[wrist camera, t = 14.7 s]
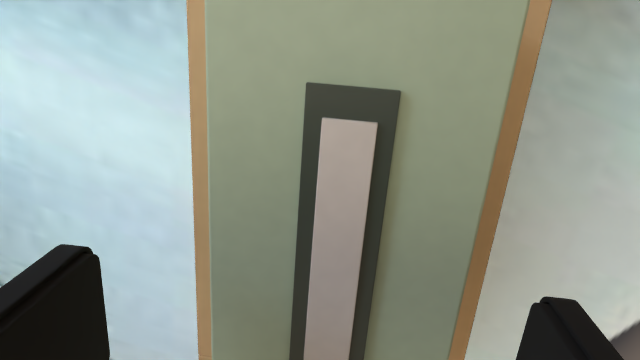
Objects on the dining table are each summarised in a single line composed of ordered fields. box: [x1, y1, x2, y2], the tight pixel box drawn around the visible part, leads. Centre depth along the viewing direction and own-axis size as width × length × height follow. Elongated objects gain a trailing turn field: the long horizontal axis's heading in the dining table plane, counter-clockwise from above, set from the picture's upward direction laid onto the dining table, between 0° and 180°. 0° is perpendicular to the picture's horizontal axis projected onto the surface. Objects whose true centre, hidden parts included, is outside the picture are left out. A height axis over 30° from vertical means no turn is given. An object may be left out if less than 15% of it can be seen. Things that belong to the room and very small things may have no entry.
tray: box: [187, 0, 552, 360], centre depth 17 cm, size 18×11×3 cm, turn 176°
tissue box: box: [205, 0, 530, 360], centre depth 14 cm, size 6×13×7 cm, turn 176°
